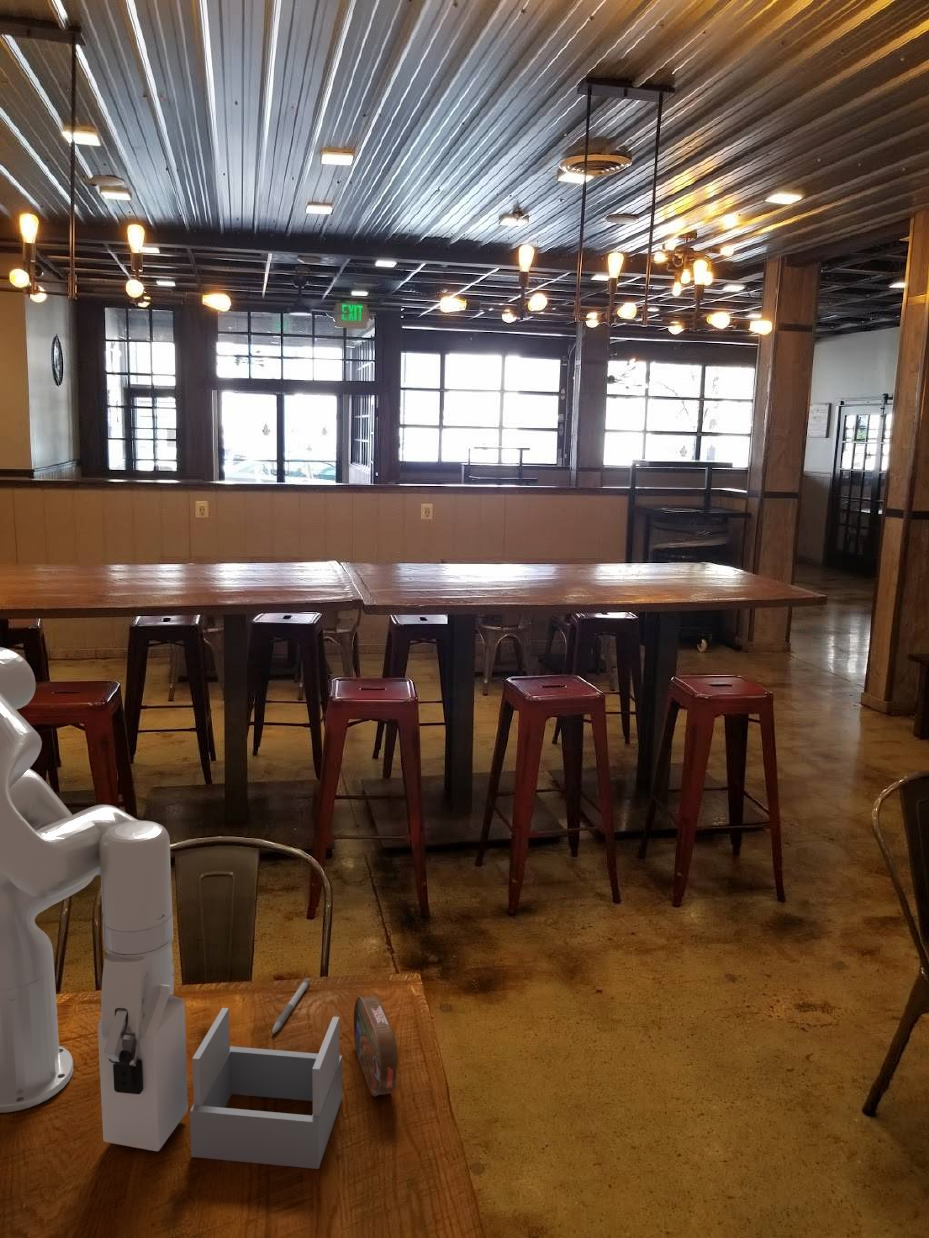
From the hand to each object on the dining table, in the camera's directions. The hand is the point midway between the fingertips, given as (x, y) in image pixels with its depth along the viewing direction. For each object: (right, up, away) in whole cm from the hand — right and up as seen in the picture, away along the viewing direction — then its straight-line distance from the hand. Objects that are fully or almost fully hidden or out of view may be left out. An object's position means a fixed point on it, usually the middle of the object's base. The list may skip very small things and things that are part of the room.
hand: (144, 1067), depth 113 cm
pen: (+12, -5, +27) cm, 30 cm away
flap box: (+14, -9, +3) cm, 17 cm away
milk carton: (0, -8, +1) cm, 8 cm away
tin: (+26, -7, +14) cm, 30 cm away
